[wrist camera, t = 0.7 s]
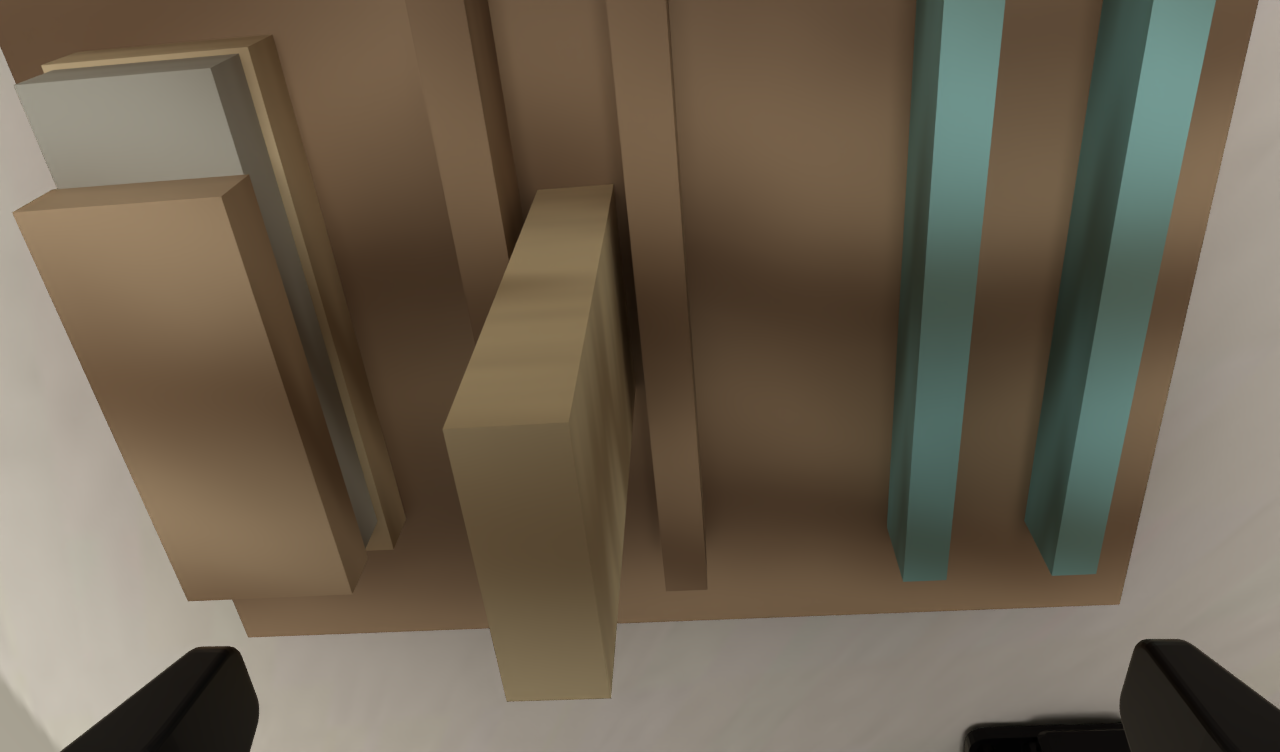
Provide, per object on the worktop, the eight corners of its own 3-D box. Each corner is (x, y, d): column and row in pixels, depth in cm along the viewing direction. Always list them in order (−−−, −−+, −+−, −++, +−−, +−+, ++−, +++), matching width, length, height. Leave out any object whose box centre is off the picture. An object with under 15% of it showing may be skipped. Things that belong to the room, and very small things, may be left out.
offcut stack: (406, 518, 24) (365, 620, 21) (257, 525, 24) (195, 627, 21) (272, 34, 18) (187, 76, 15) (77, 52, 18) (-46, 97, 15)
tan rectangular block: (635, 389, 22) (610, 697, 14) (567, 393, 22) (506, 701, 14) (613, 184, 19) (568, 422, 12) (537, 189, 19) (442, 428, 12)
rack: (1104, 578, 25) (1152, 662, 23) (261, 612, 27) (218, 693, 25) (1299, -325, 15) (1424, -357, 13) (-55, -175, 17) (-183, -176, 15)
